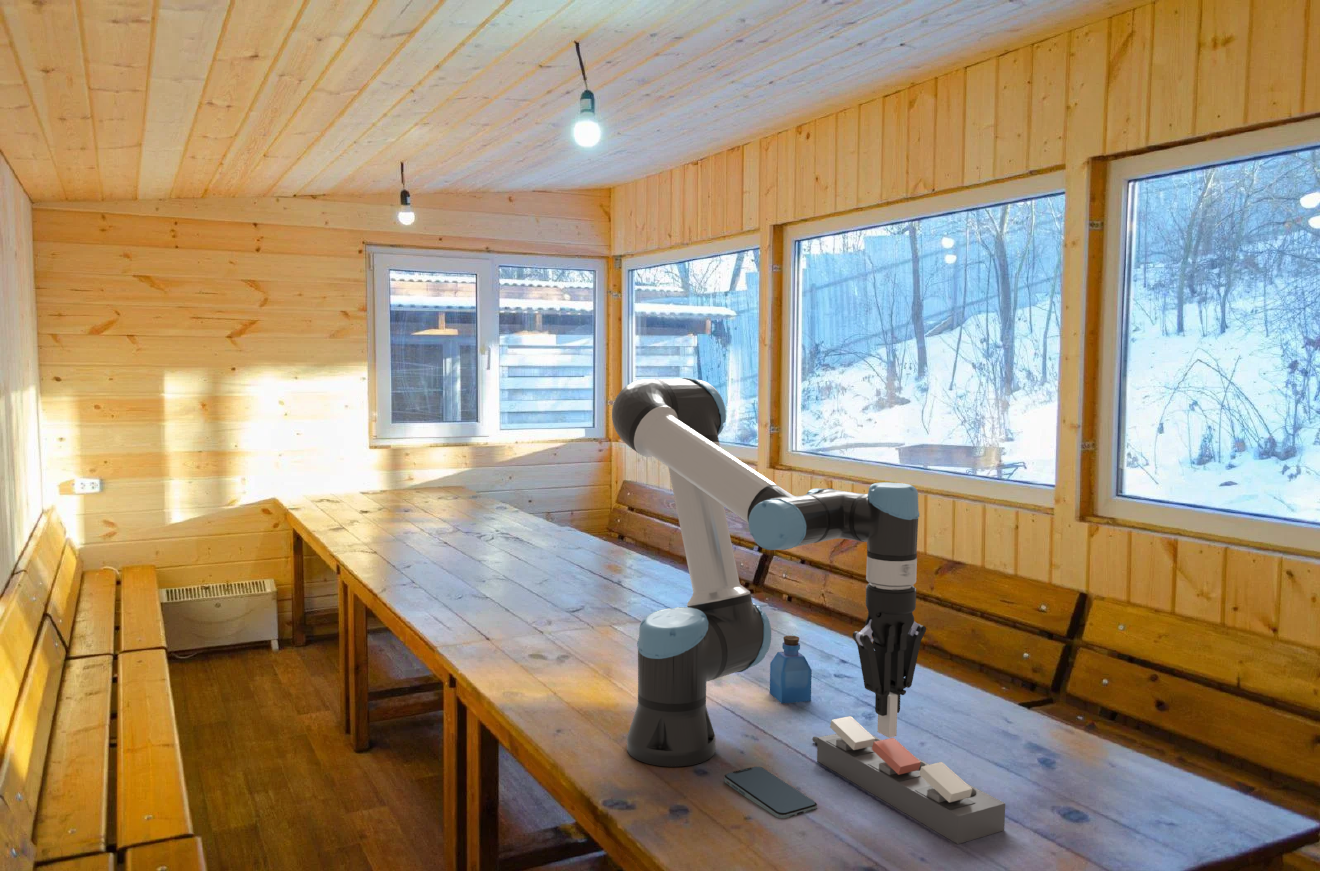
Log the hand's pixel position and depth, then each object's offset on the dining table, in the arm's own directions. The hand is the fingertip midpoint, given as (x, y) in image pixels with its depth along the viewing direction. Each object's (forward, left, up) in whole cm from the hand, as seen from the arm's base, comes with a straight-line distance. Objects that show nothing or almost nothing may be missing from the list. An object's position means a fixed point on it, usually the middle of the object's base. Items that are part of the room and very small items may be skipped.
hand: (886, 733), depth 155 cm
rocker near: (0, -13, -3) cm, 13 cm away
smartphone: (-17, +7, -10) cm, 21 cm away
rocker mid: (0, -2, -3) cm, 4 cm away
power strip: (+2, +1, -9) cm, 9 cm away
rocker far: (0, +8, -3) cm, 9 cm away
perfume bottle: (+12, +42, -9) cm, 44 cm away
